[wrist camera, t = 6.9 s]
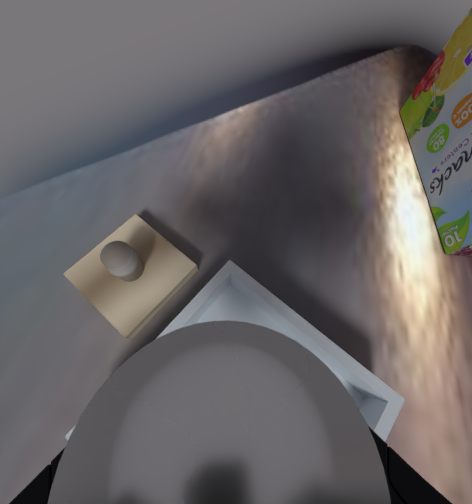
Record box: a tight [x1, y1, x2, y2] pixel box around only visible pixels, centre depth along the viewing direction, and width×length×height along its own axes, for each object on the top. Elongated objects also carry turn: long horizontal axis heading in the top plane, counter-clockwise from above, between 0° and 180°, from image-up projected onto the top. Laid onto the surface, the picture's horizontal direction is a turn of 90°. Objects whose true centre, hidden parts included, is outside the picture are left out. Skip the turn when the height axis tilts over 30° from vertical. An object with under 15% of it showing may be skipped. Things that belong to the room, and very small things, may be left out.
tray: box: [65, 260, 405, 442], centre depth 18 cm, size 15×15×4 cm
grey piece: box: [48, 320, 391, 504], centre depth 8 cm, size 5×5×10 cm
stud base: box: [63, 214, 198, 340], centre depth 21 cm, size 8×8×5 cm
